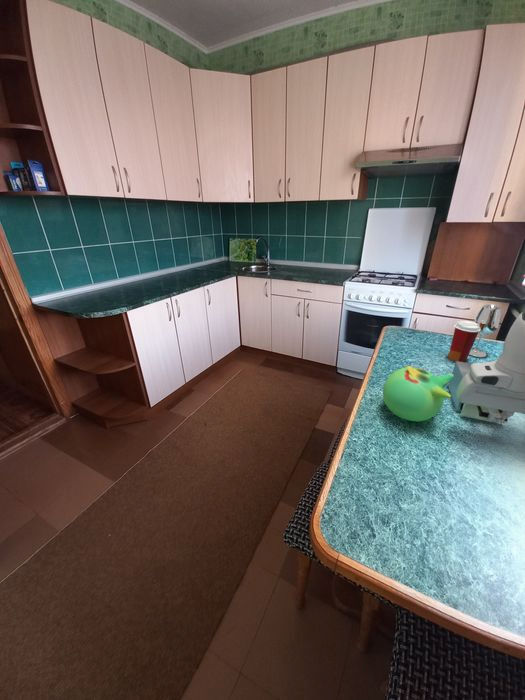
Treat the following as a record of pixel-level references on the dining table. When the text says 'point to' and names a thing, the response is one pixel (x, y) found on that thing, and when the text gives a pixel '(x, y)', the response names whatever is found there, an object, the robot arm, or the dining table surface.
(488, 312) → the wineglass
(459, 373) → the grey drawer cabinet
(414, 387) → the toy bird
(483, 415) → the drawer
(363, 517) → the dining table surface
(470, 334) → the coffee cup
